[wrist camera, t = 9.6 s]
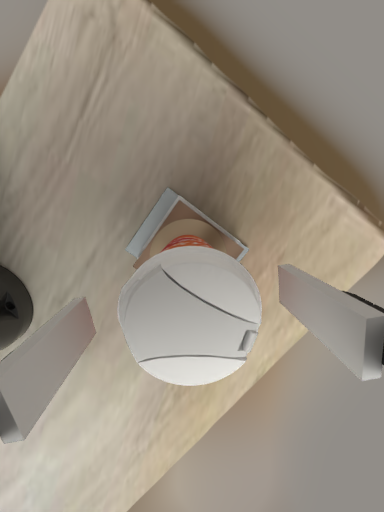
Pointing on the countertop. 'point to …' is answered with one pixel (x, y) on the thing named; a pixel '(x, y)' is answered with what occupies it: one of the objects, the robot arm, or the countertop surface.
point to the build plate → (159, 216)
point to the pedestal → (188, 223)
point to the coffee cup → (190, 313)
